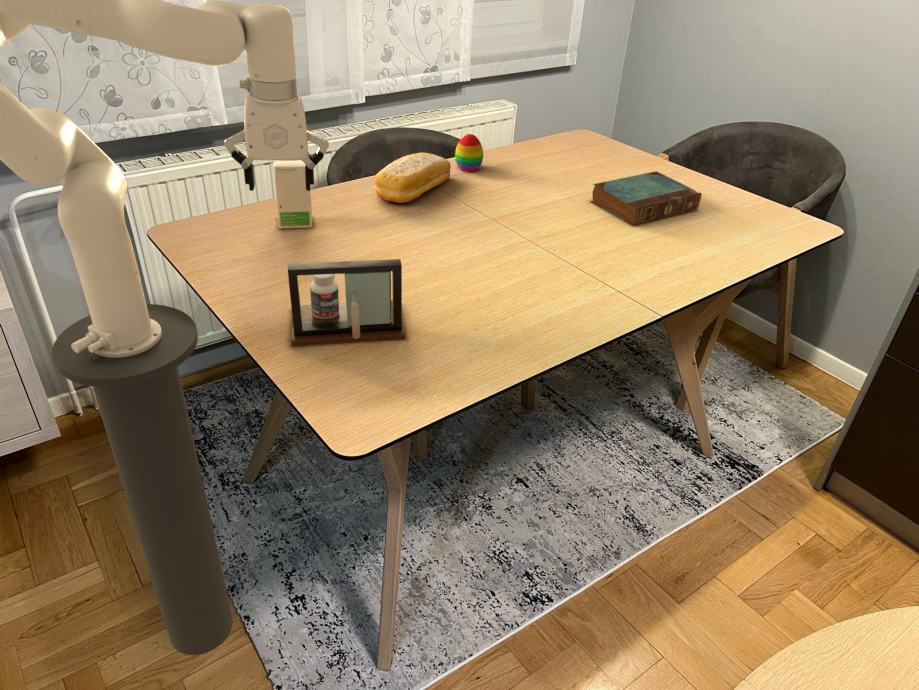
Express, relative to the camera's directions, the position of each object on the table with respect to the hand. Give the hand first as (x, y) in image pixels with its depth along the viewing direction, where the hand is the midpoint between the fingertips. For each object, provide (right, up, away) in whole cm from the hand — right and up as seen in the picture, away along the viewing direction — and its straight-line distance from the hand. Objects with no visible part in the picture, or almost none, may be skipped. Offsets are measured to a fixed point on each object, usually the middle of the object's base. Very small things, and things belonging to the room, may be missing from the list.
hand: (280, 187), depth 128 cm
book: (+81, +10, +67) cm, 106 cm away
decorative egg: (+34, +24, +85) cm, 94 cm away
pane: (+15, -25, +6) cm, 30 cm away
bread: (+19, +15, +70) cm, 74 cm away
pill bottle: (+5, -22, +14) cm, 26 cm away
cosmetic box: (-8, +2, +50) cm, 50 cm away
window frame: (+10, -24, +13) cm, 29 cm away
